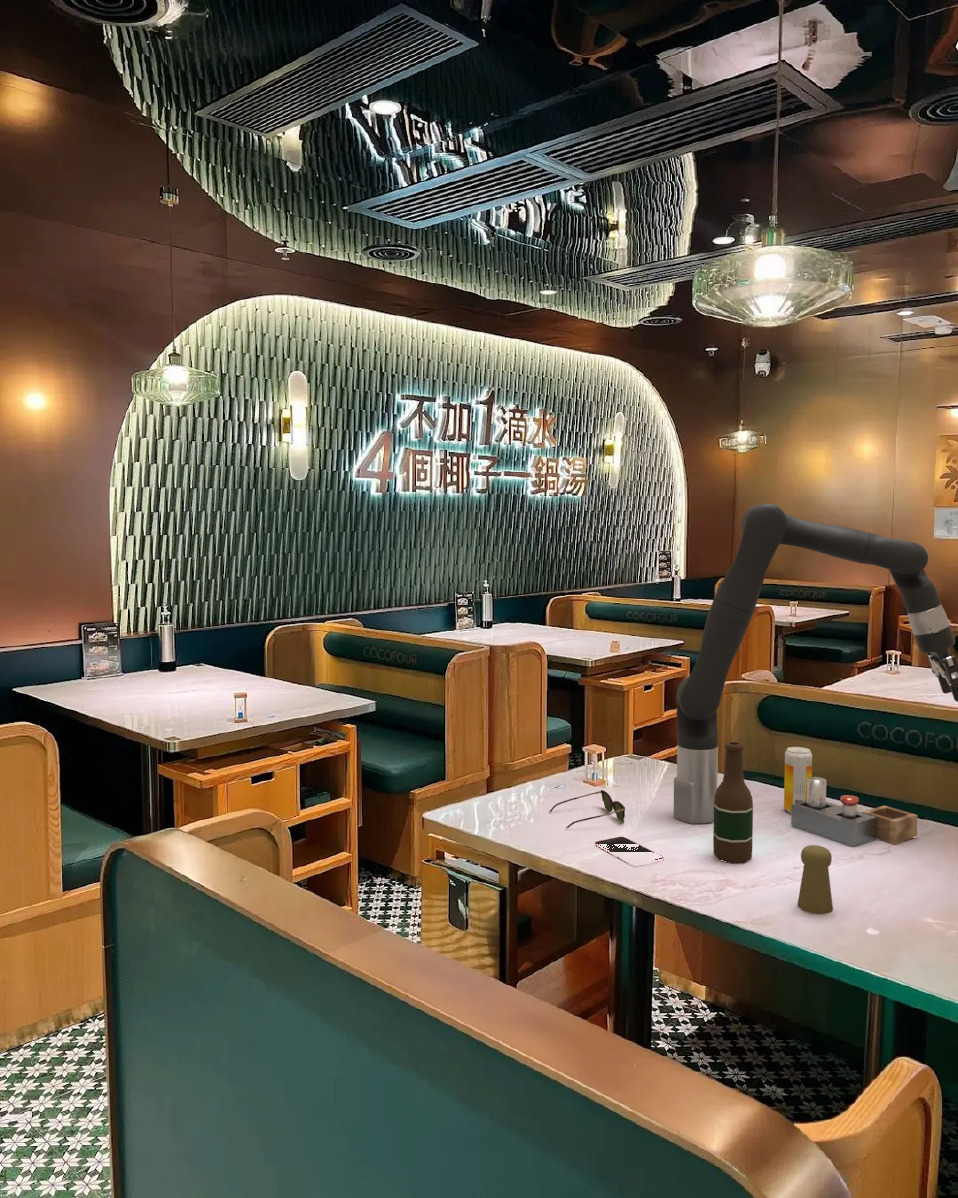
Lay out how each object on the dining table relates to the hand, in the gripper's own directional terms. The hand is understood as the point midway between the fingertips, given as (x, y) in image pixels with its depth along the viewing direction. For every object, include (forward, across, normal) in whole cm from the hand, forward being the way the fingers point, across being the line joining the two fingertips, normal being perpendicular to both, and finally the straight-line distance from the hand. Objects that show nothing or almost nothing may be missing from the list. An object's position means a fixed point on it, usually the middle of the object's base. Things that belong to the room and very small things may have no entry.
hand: (954, 696), depth 202 cm
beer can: (+18, -6, -40) cm, 44 cm away
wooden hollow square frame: (+23, +8, -24) cm, 34 cm away
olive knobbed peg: (+16, +49, -44) cm, 68 cm away
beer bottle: (+12, +27, -56) cm, 63 cm away
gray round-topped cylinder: (+18, +5, -38) cm, 42 cm away
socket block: (+19, +8, -35) cm, 40 cm away
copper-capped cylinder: (+17, +11, -31) cm, 37 cm away
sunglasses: (+2, +7, -87) cm, 87 cm away
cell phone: (+5, +27, -76) cm, 81 cm away
